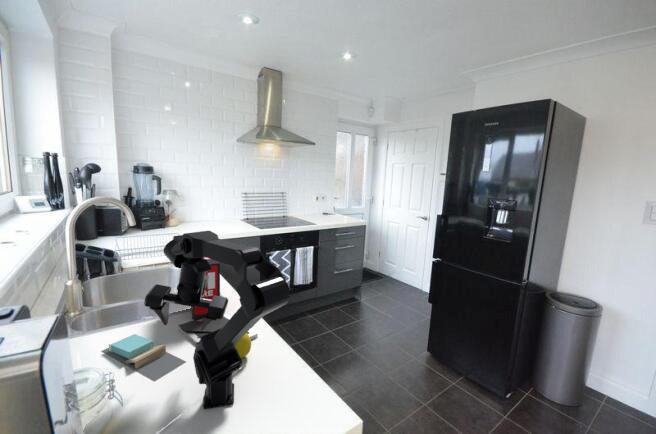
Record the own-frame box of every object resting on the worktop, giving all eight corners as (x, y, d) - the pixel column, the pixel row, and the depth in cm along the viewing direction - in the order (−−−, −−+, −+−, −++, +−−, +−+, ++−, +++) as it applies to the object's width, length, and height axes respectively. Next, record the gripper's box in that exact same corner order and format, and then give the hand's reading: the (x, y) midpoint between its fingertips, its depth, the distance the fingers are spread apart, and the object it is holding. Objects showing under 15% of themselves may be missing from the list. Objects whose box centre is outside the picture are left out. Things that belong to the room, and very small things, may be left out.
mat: (186, 363, 80) (186, 361, 80) (154, 382, 72) (154, 381, 72) (134, 337, 91) (134, 336, 91) (101, 352, 83) (101, 351, 83)
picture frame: (178, 333, 96) (211, 360, 83) (178, 324, 96) (211, 351, 83) (222, 316, 108) (257, 339, 95) (222, 309, 108) (257, 330, 95)
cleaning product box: (220, 316, 107) (219, 263, 104) (193, 321, 103) (192, 265, 100) (213, 298, 121) (213, 251, 119) (190, 302, 117) (189, 253, 114)
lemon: (227, 357, 84) (227, 331, 82) (244, 349, 88) (244, 324, 87) (237, 367, 80) (237, 339, 79) (254, 358, 84) (255, 332, 83)
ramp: (166, 354, 84) (165, 344, 83) (137, 370, 76) (136, 359, 76) (154, 349, 86) (154, 339, 85) (125, 364, 79) (125, 353, 78)
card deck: (153, 340, 84) (132, 333, 89) (129, 352, 79) (108, 343, 83) (153, 347, 85) (133, 339, 89) (129, 359, 79) (109, 350, 83)
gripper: (237, 268, 82) (227, 313, 87) (166, 253, 78) (160, 301, 83) (227, 293, 71) (217, 341, 76) (145, 277, 68) (140, 329, 73)
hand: (184, 327), depth 78 cm, fingers open, 9 cm apart
